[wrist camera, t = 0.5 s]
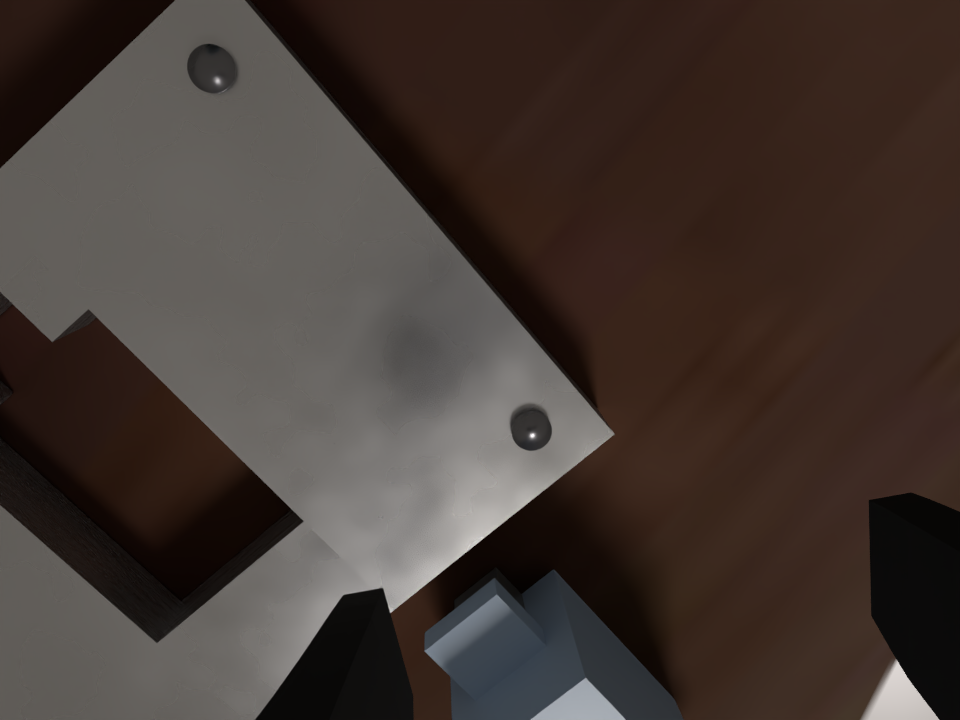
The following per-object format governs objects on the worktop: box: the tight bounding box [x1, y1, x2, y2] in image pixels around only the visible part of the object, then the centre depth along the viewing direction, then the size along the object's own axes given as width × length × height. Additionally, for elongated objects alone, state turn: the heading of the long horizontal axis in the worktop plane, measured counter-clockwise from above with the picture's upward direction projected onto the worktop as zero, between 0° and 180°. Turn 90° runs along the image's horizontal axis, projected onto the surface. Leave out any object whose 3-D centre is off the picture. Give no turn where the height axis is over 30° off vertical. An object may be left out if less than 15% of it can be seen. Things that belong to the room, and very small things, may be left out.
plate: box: [0, 0, 614, 720], centre depth 20 cm, size 20×14×2 cm
